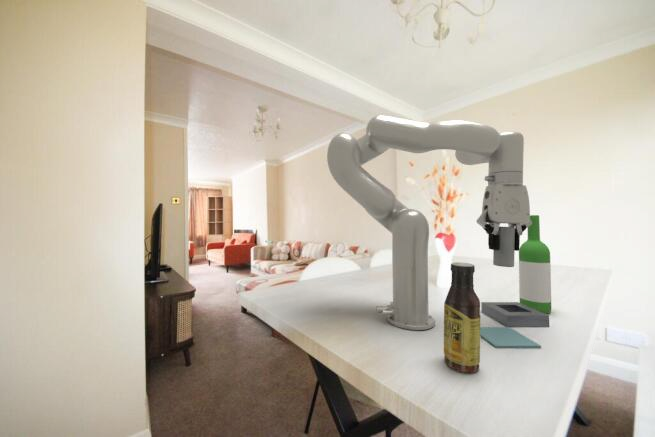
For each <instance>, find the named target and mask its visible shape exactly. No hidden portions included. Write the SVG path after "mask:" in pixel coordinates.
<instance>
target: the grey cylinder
mask: <svg viewBox="0 0 655 437" xmlns="http://www.w3.org/2000/svg"><path fill="white" fill-rule="evenodd" d="M497 235H499V236H500V248H499V250H492V251H493V253H492V254H493V255H492V258H493V259H492V260H493V261H492V263H493V264H492V265H493V266H496V267H502V268H503V267H505V268H514V267H515V227H509V226H499V229H498V233H497Z"/></svg>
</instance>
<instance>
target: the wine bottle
mask: <svg viewBox="0 0 655 437" xmlns="http://www.w3.org/2000/svg"><path fill="white" fill-rule="evenodd" d="M530 220H531V221H532V225H530V226H529V227H527V240H526V241H524V242H523V243H522V244H521V245H520V246H519V251H518V278H519V279H518V281H519V282H518V283H519V284H518V285H519V286H518V287H519V289H518V290H519V296H518V297H519V303H521V304H523V305H526V306H528V307H530V308H533V309H535V310H537V311H540V312H542V313H545V314H547V315H548V314H550V313H551V312H552V274H551V271H552V269H551V252H550V249H549V247H548V245H546V244H545V243H544V242H542V241H541V235H540V234H541V232H540V231H541V230H540V228H541V227H540V225H541V224H540V215H538V214H535V215H534V214H531V215H530Z"/></svg>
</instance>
